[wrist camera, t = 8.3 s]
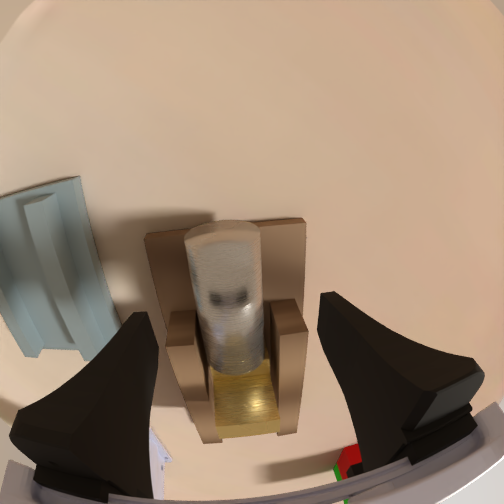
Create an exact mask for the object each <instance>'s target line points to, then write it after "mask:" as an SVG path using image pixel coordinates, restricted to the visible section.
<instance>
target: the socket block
mask: <svg viewBox="0 0 504 504" xmlns="http://www.w3.org/2000/svg"><path fill="white" fill-rule="evenodd" d="M251 223H253V224H255V225H256V226H258V228H259V229H260V242H261V265H262V289H263V314H264V338H265V342H266V347H267V351H268V355H269V362H270V377H271V381H272V386H273V390H274V394H275V399H276V403H277V407H278V411H279V416H280V432H277V435H278V436H281V435H287V434H293V433H297V426H298V419H299V412H300V405H301V397H302V389H303V381H304V372H305V363H306V353H307V343H308V332H309V331H308V329H307V326H306V324H305V322H304V319H303V301H304V281H305V256H306V222H305V221H304V219H303V218H297V219H285V220H273V221H262V222H251ZM189 230H191V229H182V230H173V231H165V232H156V233H148V234H146V236H145V238H144V242H145V246H146V251H147V255H148V260H149V264H150V268H151V273H152V277H153V281H154V285H155V289H156V293H157V296H158V300H159V304H160V307H161V311H162V315H163V318H164V322H165V325H166V329H167V332H168V333H167V339H166V346H165V347H166V350H167V353H168V356H169V359H170V362H171V365H172V368H173V370H174V373H175V376H176V379H177V381H178V384H179V387H180V389H181V392H182V394H183V397H184V400H185V402H186V405H187V407H188V410H189V412H190V414H191V417H192V419H193V421H194V424H195V426H196V428H197V431H198V433H199V435H200V438H201V440H202V442H203V444H208V443H222V439H219V436H218V433H217V430H216V426H215V409H214V388H213V377H212V373H211V369H210V364H209V363H208V360H207V356H206V351H205V347H204V342H203V338H202V333H201V328H200V324H199V319H198V314H197V309H196V304H195V299H194V293H193V288H192V283H191V277H190V272H189V266H188V260H187V254H186V248H185V242H184V236H185V234H186V233H187V232H188V231H189Z"/></svg>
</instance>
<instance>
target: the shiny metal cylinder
mask: <svg viewBox="0 0 504 504" xmlns="http://www.w3.org/2000/svg"><path fill="white" fill-rule="evenodd" d="M184 242H185V248H186V254H187V260H188V266H189V272H190V277H191V283H192V288H193V293H194V299H195V304H196V309H197V314H198V319H199V324H200V328H201V333H202V338H203V342H204V347H205V351H206V356H207V360H208V363H209V364H210V366H211V367H212V368H213V369H214V370H216V371H217V372H219V373H222V374H225V375H243V374H246V373H249V372H251V371H253V370H255V369H256V368H258V367H259V366H260V365H261V363H262V362H263V360H264V357H265V340H264V314H263V289H262V265H261V242H260V229H259V228H258V226H256V225H255V224H253V223H250V222H246V221H241V220H219V221H213V222H208V223H204V224H201V225H198V226H196V227H194V228H192V229H191V230H189V231H188V232H187V233H186V234H185V236H184Z"/></svg>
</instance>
